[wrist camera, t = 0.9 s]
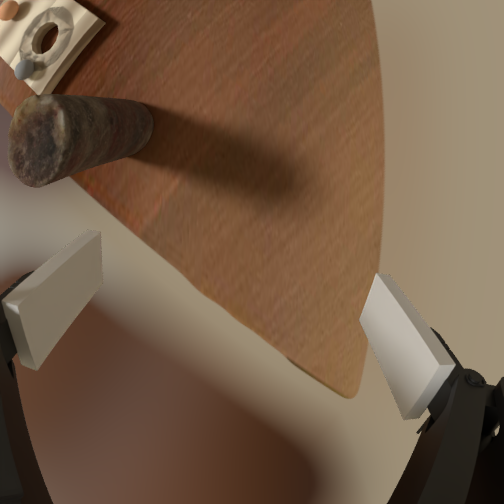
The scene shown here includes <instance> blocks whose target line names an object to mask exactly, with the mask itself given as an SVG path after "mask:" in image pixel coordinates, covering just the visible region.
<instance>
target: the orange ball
mask: <svg viewBox="0 0 504 504" xmlns="http://www.w3.org/2000/svg"><path fill="white" fill-rule="evenodd" d="M18 10H19V5H18V3H17V2H16V1H14V0H10V1H7V2H5V3H4V4H3V5H2V6H1V7H0V19H1V20H2V21H8V20H10V19H12V18H13V17H15V15H16V14H17V12H18Z"/></svg>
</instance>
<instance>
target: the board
mask: <svg viewBox="0 0 504 504" xmlns="http://www.w3.org/2000/svg"><path fill="white" fill-rule="evenodd" d="M7 1H10V0H4V1H3V3H2V4H1V5H0V7H1V6H2V5H3V4H4V3H5V2H7ZM14 1H16V2H17V3H18V5H19V10H18V12H17V14H16V15H15V17H13V18H12V19H10V20H8V21H2V20H1V19H0V56H1V57H2V58H3V59H4V60H5V61H6V62H7V63H8V64H9V65H10V67H11V68H12V69H13V70H14V71H15V67H16V65H17V64H18V63H19V62H20V61H22V60H25V59H28V60H31V61H32V62H33V64H34V71H33V73H32V75H31V76H30V77H29V78H27V79H25V80H24V81H25V82H26V83H27V84H28V85H29V86H30V87H31V88H32V89H33V90H34V91H35V92H36V93H37V94H38V95H42V94H51V93H52V91H53V90H54V88H55V87H56V86H57V84H58V83H59V81H60V80H61V78H62V77H63V76H64V74H65V73H66V71H67V70H68V69H69V67H70V66H71V65H72V63H73V62H74V61H75V59H76V58H77V57H78V56H79V54H80V53H81V52H82V50H83V49H84V48H85V47H86V46H87V44H88V43H89V42H90V41H91V40H92V38H93V37H94V36H95V35H96V34H97V33H98V31H99V30H100V29H101V28H102V27H103V26H104V25H105V24H106V23H105V22H104V21H103V20H101V19H100V18H99V17H97V16H96V15H94V14H93V13H92V12H90V11H89V10H88V9H86V8H85V7H83V6H82V5H81V4H79V3H78V2H76V1H75V0H14ZM55 26H58V29H59V34H58V37H57V40H56V42H55V44H54V45H53V46H52V48H51V49H50V50H49V51H47V52H46V53H44V54H43V53H42V51H41V43H42V40H43V37H44V36H45V35H46V33H47V32H48V31H49V30H50V29H52V28H53V27H55Z"/></svg>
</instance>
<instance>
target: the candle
mask: <svg viewBox="0 0 504 504" xmlns="http://www.w3.org/2000/svg"><path fill="white" fill-rule="evenodd" d="M153 128H154V123H153V118H152V115H151V113H150V112H149V110H148V109H147V107H145V106H144V105H143V104H141V103H139V102H136V101H133V100H126V99H116V98H102V97H90V96H77V95H60V94H42V95H34V96H31V97H29V98H27V99H26V100H24V101H23V102H22V104H20V105H19V106H18V107H17V108H16V110H15V113H14V117H13V119H12V121H11V125H10V129H9V134H8V137H9V144H8V161H9V166H10V169H11V170H12V172H13V173H14V175H15V176H16V177H17V178H18V179H19V180H20V181H21V182H22V183H24V184H25V185H28V186H30V187H42V186H44V185H47V184H50V183H52V182H55V181H58V180H60V179H63V178H65V177H68V176H70V175H73V174H76V173H78V172H81V171H84V170H86V169H89V168H92V167H95V166H98V165H101V164H105V163H108V162H112V161H115V160H118V159H122V158H125V157H128V156H131V155H133V154H135V153H137V152H138V151H140V150H141V149H142V148H143V147H144V146H145V145H146V143H147V142H148V140H149V138H150V136H151V134H152V131H153Z"/></svg>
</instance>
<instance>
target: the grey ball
mask: <svg viewBox="0 0 504 504" xmlns="http://www.w3.org/2000/svg"><path fill="white" fill-rule="evenodd" d="M33 71H34V64H33V62H32V61H31V60H28V59H25V60H22V61H20V62H19V63H18V64H17V65H16V67H15V76H16V78H17V79H19V80H25V79H27V78H29V77H30V76H31V75H32V73H33Z"/></svg>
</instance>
